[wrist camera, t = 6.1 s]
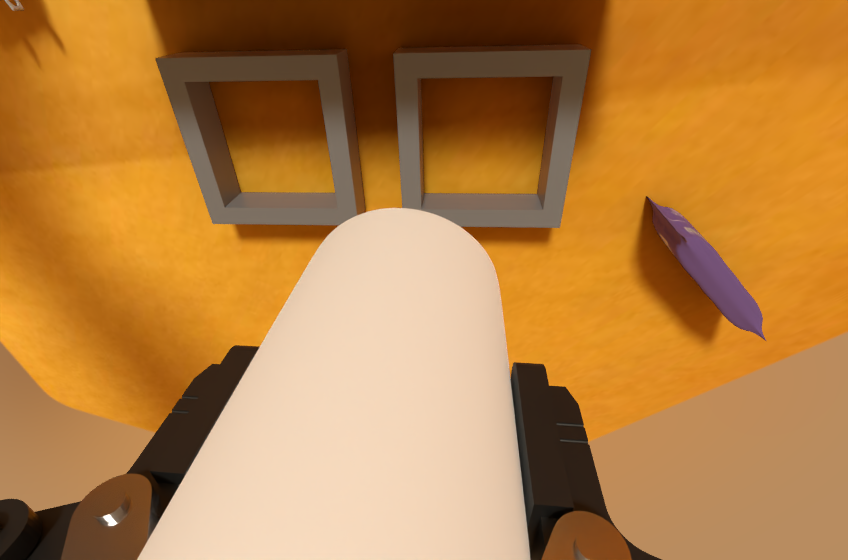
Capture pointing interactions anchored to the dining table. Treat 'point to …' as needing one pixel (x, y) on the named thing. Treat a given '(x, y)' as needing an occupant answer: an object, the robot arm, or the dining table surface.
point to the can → (366, 414)
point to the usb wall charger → (13, 7)
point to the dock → (331, 68)
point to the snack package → (707, 269)
